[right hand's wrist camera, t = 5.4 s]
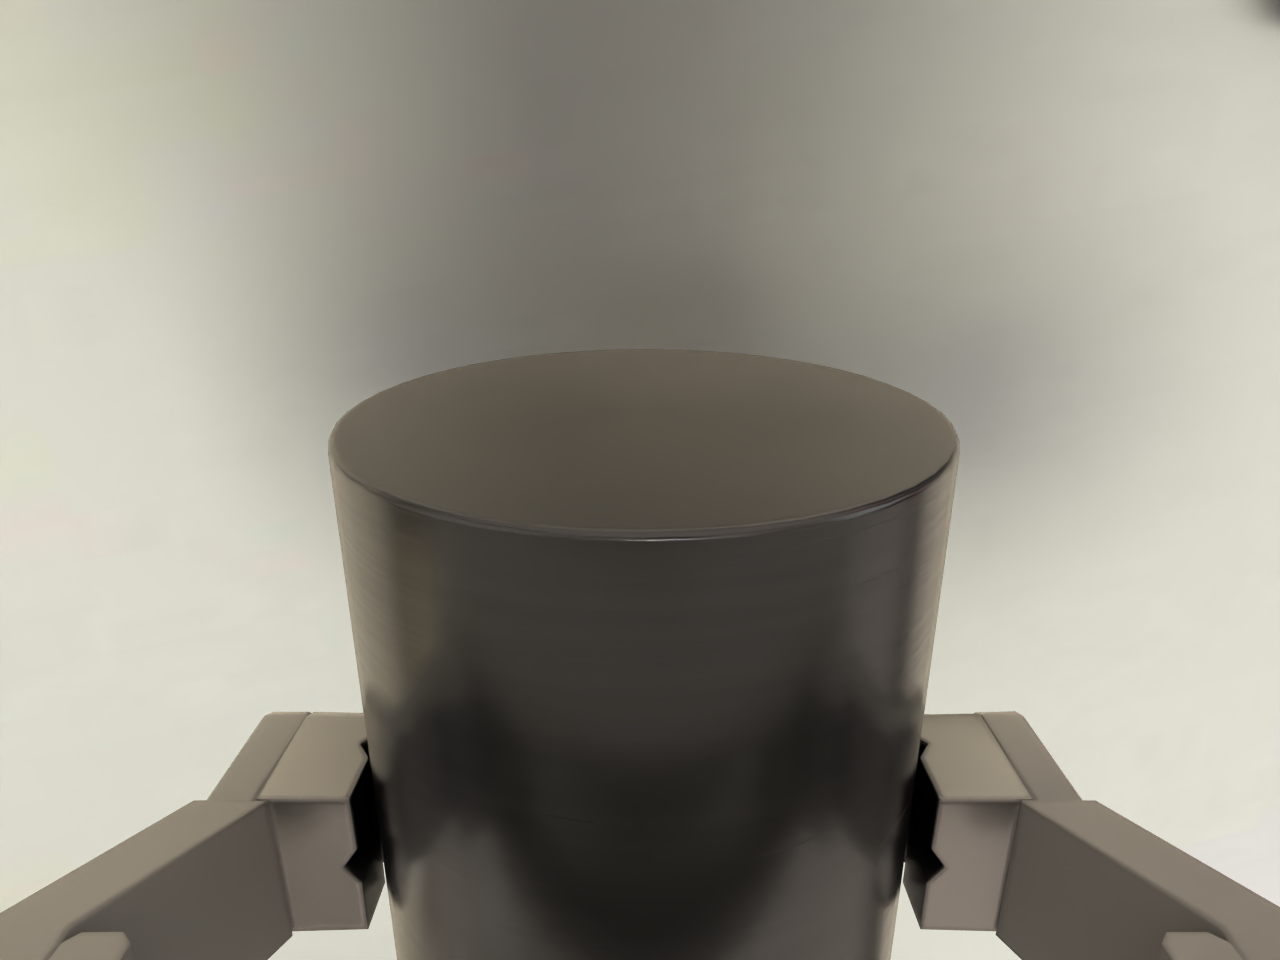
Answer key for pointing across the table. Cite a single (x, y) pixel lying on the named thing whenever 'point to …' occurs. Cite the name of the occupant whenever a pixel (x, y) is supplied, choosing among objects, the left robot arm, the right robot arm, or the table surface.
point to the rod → (643, 651)
